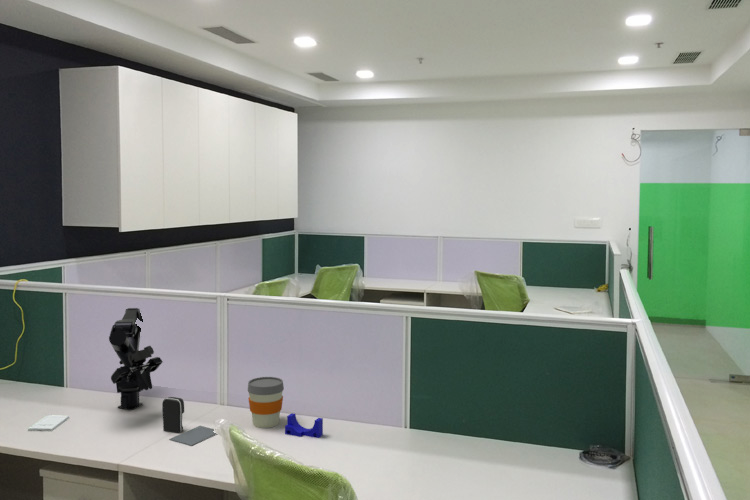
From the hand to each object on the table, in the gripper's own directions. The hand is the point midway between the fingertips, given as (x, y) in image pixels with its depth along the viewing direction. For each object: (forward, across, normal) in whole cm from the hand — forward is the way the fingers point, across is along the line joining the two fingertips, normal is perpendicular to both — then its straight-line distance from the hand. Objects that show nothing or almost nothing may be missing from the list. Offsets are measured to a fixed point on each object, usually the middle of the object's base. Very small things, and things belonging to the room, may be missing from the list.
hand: (149, 388), depth 230 cm
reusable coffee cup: (+33, +21, -15) cm, 42 cm away
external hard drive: (-12, -18, +31) cm, 38 cm away
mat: (+24, 0, -6) cm, 25 cm away
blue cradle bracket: (+46, +20, -28) cm, 57 cm away
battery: (+17, 0, +1) cm, 17 cm away
